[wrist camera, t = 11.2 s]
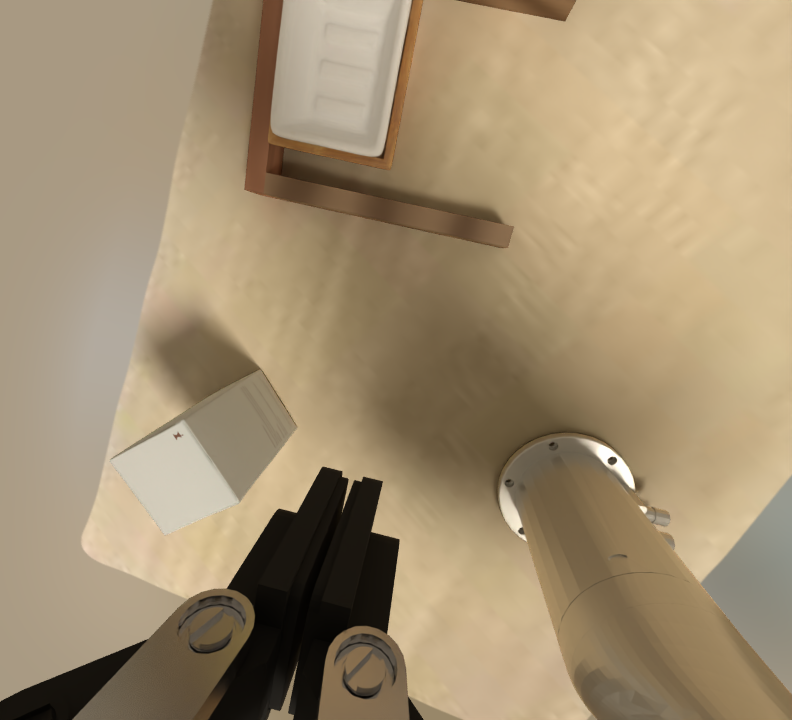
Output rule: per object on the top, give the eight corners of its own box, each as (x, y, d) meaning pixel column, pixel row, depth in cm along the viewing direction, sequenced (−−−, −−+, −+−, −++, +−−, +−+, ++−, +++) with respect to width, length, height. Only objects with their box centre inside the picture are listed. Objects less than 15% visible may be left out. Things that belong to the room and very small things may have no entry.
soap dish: (306, -18, 31) (281, -70, 26) (429, 6, 30) (428, -42, 26) (284, 155, 34) (259, 138, 29) (395, 179, 34) (388, 166, 29)
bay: (636, -75, 28) (752, -269, 17) (536, 255, 34) (579, 256, 24) (297, -137, 29) (218, -354, 18) (260, 195, 35) (186, 169, 25)
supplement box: (203, 397, 41) (103, 458, 29) (262, 367, 39) (182, 417, 27) (241, 457, 42) (161, 539, 30) (300, 429, 40) (240, 504, 28)
